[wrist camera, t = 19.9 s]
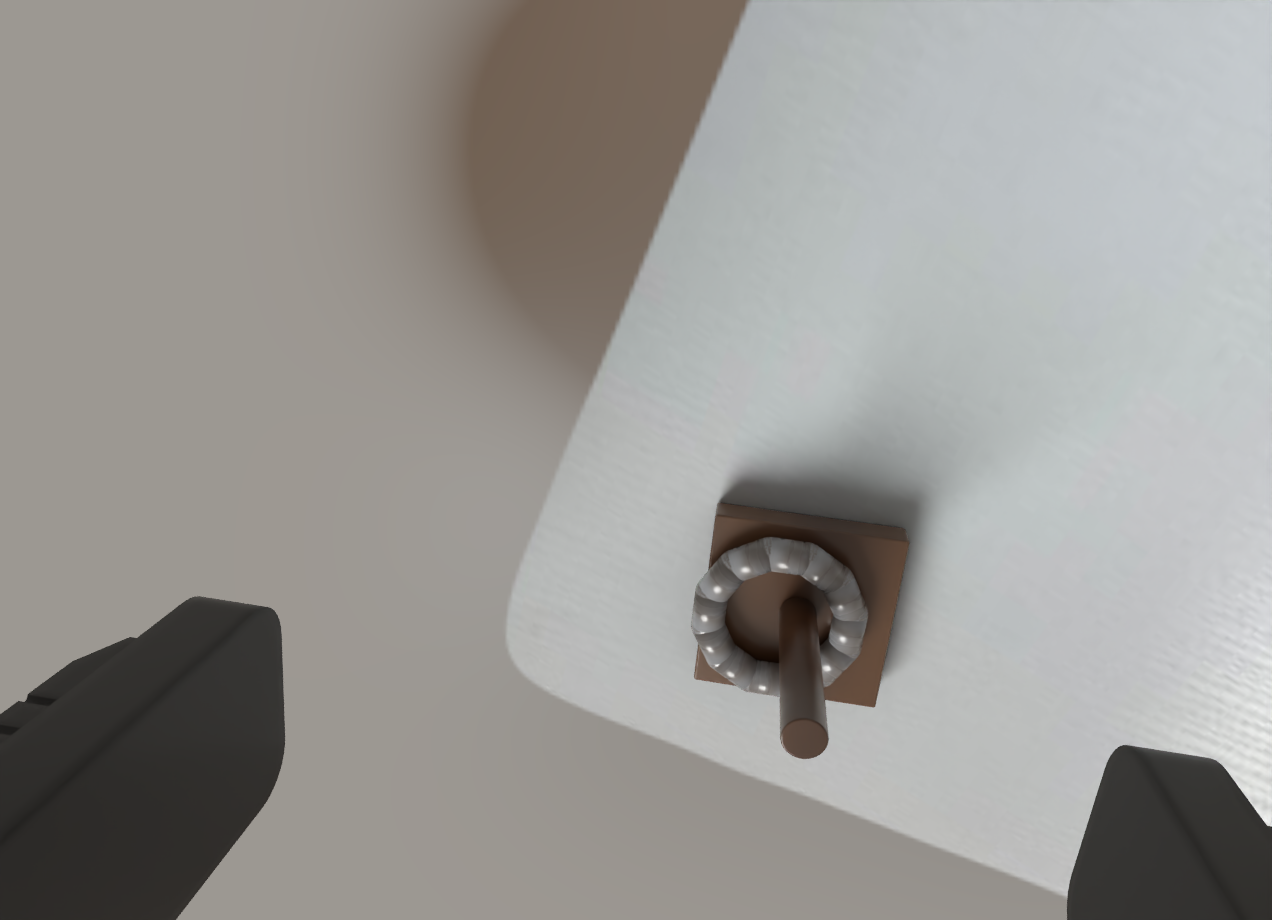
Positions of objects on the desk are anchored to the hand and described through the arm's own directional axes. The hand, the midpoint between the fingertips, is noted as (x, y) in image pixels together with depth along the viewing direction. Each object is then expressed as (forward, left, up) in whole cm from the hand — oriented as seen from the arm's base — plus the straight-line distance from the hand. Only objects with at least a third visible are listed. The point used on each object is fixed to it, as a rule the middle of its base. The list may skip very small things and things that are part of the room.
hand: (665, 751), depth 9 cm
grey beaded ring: (+3, -13, -28) cm, 31 cm away
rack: (+4, -13, -30) cm, 33 cm away
